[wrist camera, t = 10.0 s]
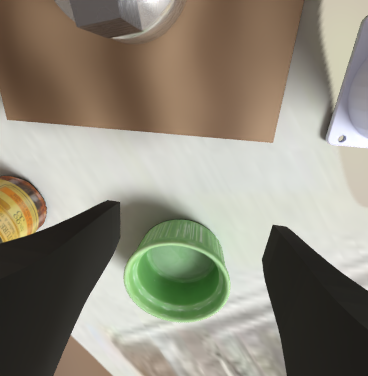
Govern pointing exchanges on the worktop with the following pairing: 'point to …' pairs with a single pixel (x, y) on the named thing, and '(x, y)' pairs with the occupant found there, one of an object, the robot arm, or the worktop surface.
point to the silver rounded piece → (124, 17)
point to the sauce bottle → (19, 208)
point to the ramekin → (178, 272)
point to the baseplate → (152, 70)
